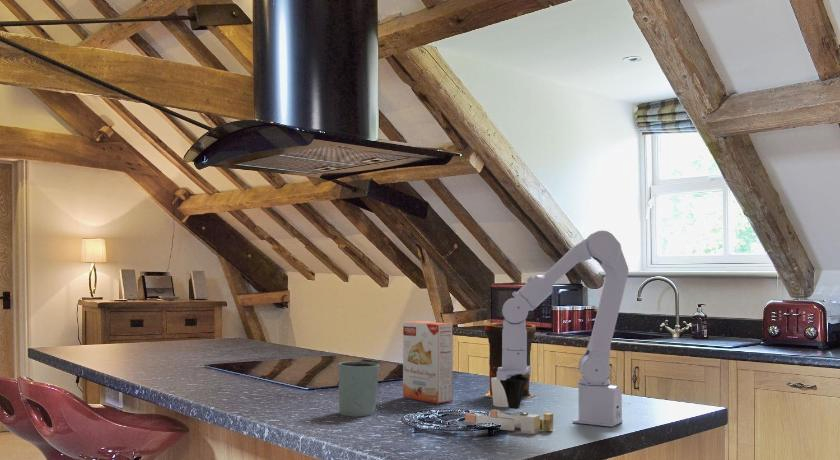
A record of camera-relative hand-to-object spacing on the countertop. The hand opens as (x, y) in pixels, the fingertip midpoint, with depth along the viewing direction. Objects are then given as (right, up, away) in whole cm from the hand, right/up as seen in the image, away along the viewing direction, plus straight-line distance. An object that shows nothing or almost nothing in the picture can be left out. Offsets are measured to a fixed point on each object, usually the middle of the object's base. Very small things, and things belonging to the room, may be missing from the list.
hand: (514, 408), depth 187 cm
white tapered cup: (0, -4, +21) cm, 22 cm away
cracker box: (-20, -4, +29) cm, 35 cm away
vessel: (+3, -5, +38) cm, 38 cm away
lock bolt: (+4, -2, -12) cm, 13 cm away
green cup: (-37, -3, +8) cm, 38 cm away
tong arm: (-2, -2, -6) cm, 7 cm away
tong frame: (-4, -2, -11) cm, 12 cm away
